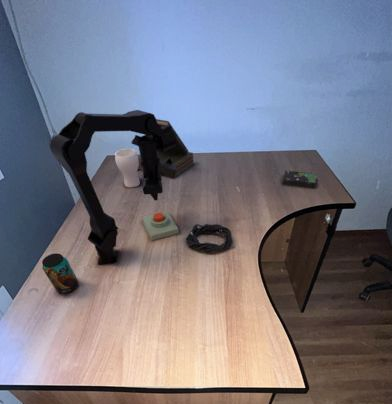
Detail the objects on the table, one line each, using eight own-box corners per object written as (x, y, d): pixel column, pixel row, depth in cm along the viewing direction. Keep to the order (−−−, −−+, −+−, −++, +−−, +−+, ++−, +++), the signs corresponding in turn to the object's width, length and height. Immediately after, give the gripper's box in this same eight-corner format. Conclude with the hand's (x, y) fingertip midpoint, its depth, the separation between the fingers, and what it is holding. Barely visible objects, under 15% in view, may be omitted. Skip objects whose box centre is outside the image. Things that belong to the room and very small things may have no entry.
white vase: (138, 189, 128) (132, 157, 117) (118, 188, 130) (110, 156, 119) (145, 179, 135) (140, 148, 124) (126, 178, 137) (119, 147, 126)
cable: (238, 238, 100) (239, 229, 97) (222, 260, 92) (223, 251, 88) (198, 226, 106) (197, 217, 103) (180, 246, 98) (179, 237, 94)
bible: (193, 164, 146) (191, 112, 128) (173, 178, 135) (167, 123, 117) (160, 156, 155) (154, 106, 137) (138, 169, 144) (128, 117, 126)
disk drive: (282, 185, 127) (314, 188, 124) (283, 179, 125) (316, 182, 122) (283, 175, 134) (314, 178, 130) (285, 170, 132) (316, 172, 128)
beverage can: (56, 298, 82) (38, 270, 73) (57, 282, 87) (40, 254, 78) (79, 292, 83) (64, 264, 75) (79, 277, 88) (65, 249, 79)
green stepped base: (178, 233, 103) (178, 224, 100) (151, 240, 101) (150, 231, 98) (168, 215, 112) (167, 206, 109) (142, 221, 110) (141, 213, 107)
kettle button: (165, 221, 103) (164, 217, 102) (155, 223, 102) (154, 219, 101) (162, 215, 106) (161, 211, 104) (152, 218, 105) (152, 214, 103)
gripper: (175, 166, 80) (179, 211, 92) (172, 143, 93) (176, 186, 104) (138, 169, 80) (147, 214, 91) (140, 146, 92) (147, 188, 104)
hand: (156, 200), depth 98 cm, fingers closed
